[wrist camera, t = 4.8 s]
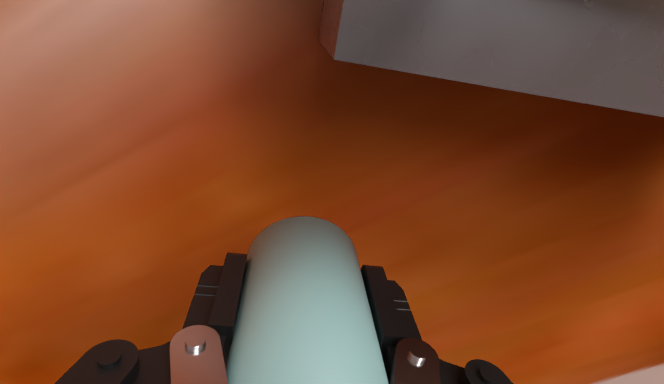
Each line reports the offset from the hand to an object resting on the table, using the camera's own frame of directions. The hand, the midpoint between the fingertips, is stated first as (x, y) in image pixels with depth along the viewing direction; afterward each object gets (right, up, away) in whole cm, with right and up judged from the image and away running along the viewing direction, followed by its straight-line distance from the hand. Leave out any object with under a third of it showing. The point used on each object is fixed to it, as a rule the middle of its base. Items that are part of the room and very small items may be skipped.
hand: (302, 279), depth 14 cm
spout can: (0, 0, +1) cm, 1 cm away
